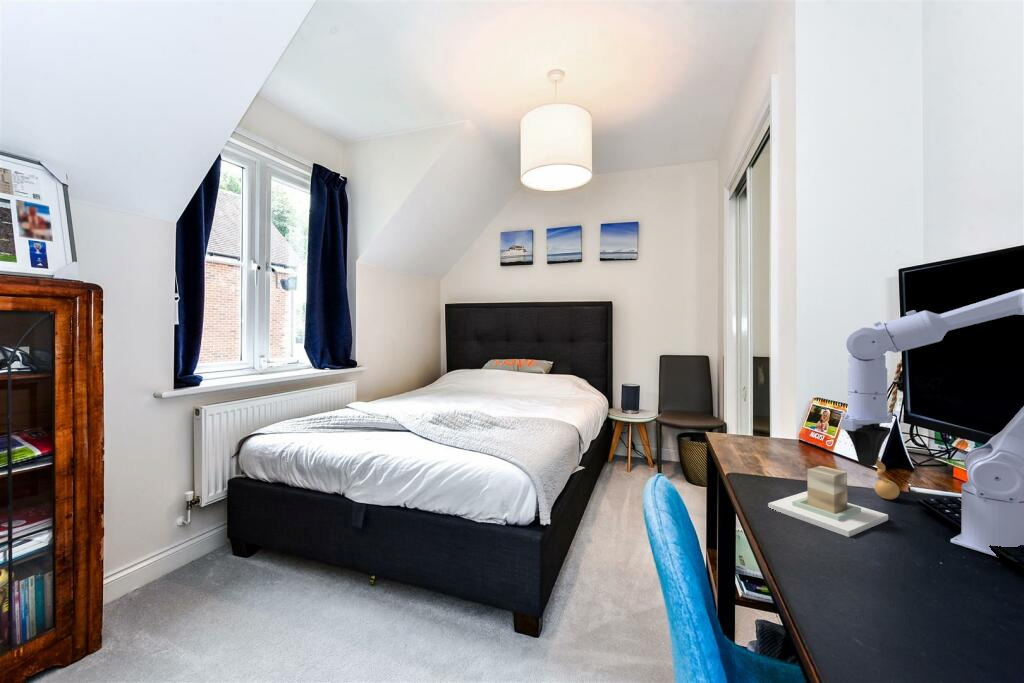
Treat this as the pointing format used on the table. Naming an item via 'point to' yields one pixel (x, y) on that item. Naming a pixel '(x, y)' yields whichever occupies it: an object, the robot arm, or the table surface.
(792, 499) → the collar board
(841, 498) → the block stack
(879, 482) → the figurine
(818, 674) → the table surface
